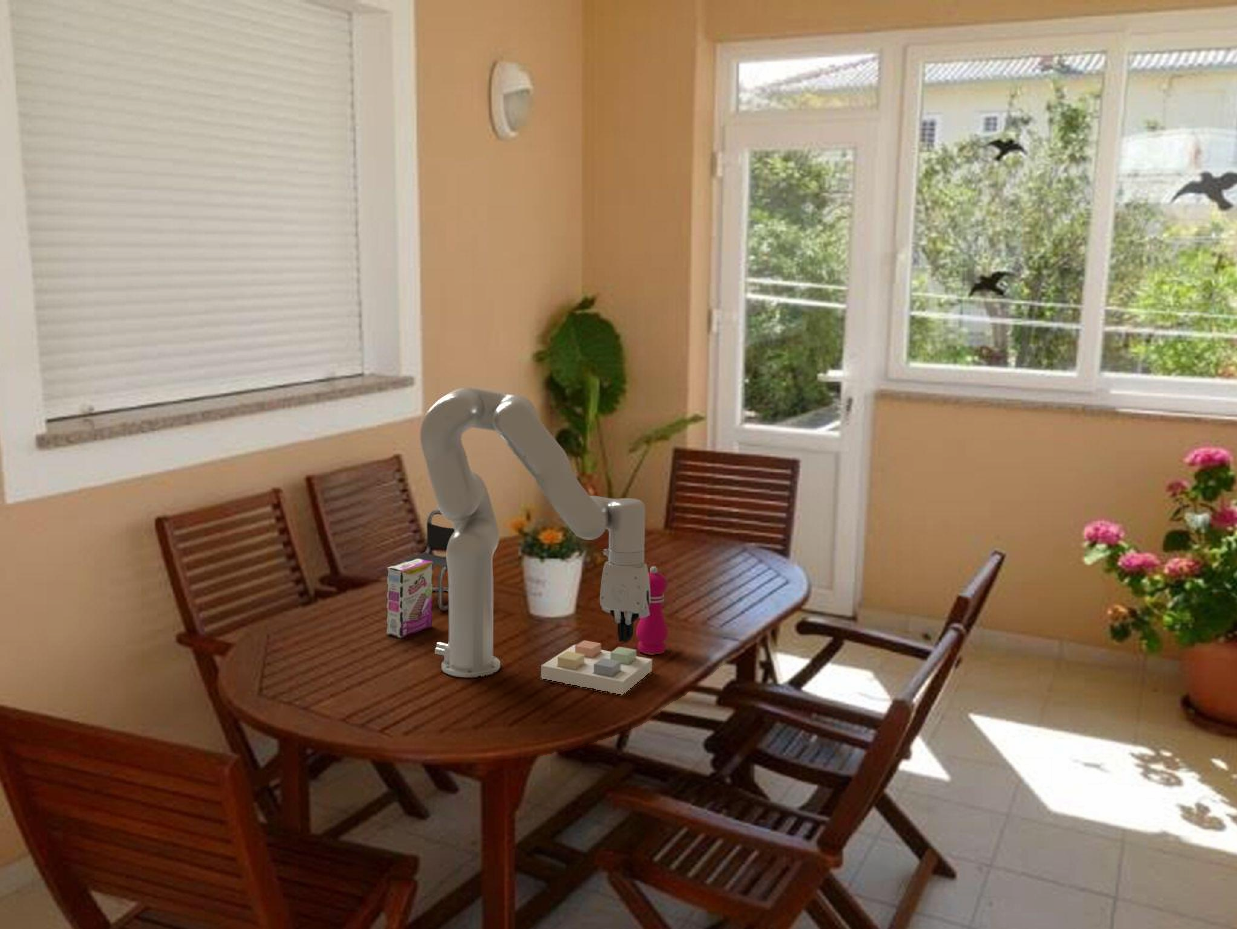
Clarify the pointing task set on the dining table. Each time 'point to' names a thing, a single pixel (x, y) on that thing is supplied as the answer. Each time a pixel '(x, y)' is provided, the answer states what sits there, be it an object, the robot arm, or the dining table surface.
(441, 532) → the chair
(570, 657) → the ochre button
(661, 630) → the pepper mill
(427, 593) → the candy bar box
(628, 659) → the sage button
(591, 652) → the terracotta button
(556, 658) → the console
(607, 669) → the slate button
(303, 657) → the dining table surface
